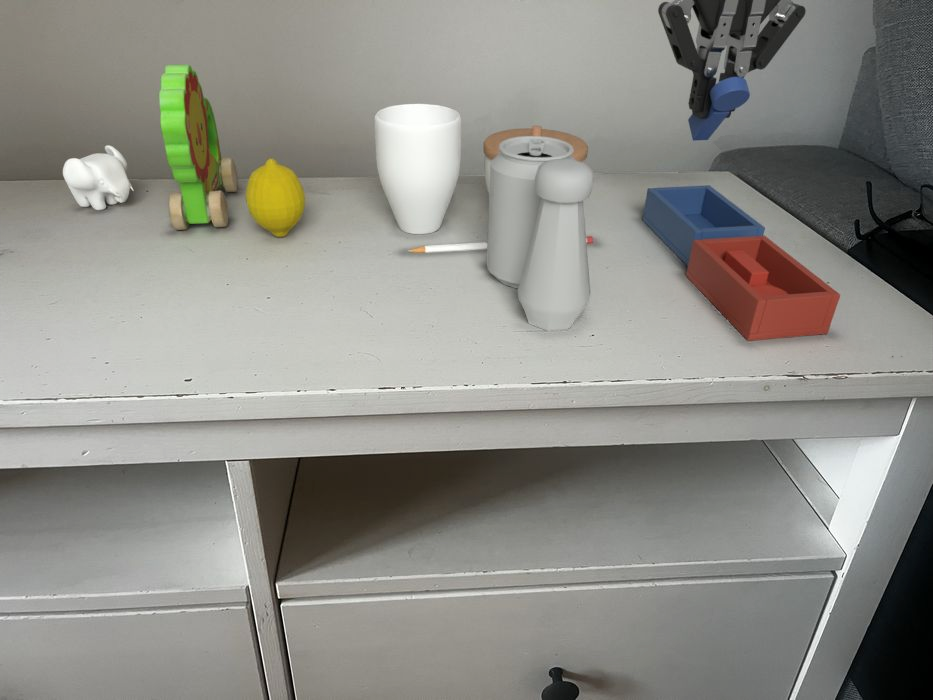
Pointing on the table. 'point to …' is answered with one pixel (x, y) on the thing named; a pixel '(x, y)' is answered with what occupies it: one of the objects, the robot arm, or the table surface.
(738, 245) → the red bin
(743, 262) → the red spoon
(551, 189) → the salt shaker
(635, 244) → the table surface
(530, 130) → the trinket box
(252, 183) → the fruit
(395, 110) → the mug
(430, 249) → the pencil
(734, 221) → the blue bin
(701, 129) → the blue spoon
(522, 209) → the can
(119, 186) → the elephant figurine
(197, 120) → the toy lion
